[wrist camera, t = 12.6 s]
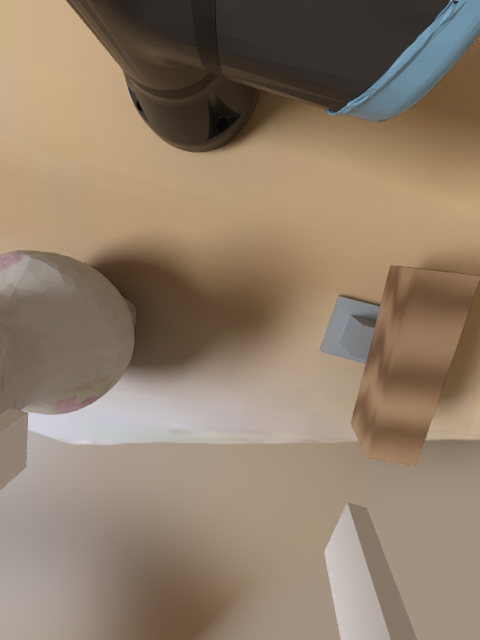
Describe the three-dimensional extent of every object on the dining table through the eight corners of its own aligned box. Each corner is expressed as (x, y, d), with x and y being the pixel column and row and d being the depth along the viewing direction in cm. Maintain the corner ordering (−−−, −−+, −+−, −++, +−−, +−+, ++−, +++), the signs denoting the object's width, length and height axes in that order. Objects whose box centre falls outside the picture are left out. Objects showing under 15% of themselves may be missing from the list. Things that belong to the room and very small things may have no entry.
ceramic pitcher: (104, 401, 46) (-50, 580, 22) (-2, 330, 42) (-318, 452, 19) (180, 306, 40) (82, 410, 17) (65, 217, 37) (-261, 187, 13)
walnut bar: (390, 265, 29) (420, 269, 24) (438, 270, 29) (480, 276, 23) (350, 423, 35) (367, 458, 29) (390, 429, 34) (415, 466, 29)
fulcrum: (338, 295, 37) (352, 304, 31) (441, 322, 36) (474, 336, 30) (319, 349, 39) (329, 366, 33) (416, 374, 38) (442, 397, 33)
